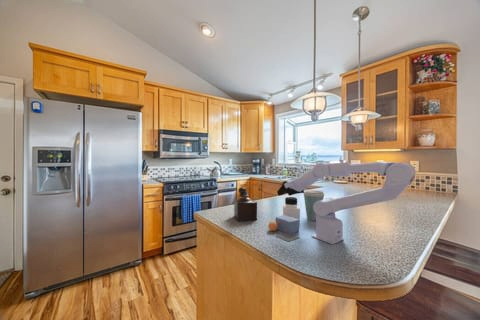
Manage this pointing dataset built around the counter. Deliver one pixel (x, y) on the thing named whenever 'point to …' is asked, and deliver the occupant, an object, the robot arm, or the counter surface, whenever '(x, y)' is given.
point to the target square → (287, 236)
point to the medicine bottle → (291, 208)
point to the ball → (272, 226)
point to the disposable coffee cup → (312, 202)
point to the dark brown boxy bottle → (245, 207)
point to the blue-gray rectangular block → (287, 224)
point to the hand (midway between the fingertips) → (283, 193)
